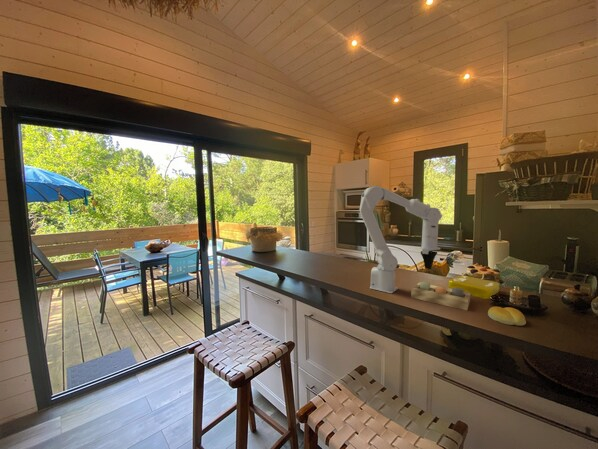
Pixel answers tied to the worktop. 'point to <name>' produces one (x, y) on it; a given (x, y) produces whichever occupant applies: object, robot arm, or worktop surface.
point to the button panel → (441, 297)
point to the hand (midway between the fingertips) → (428, 268)
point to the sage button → (425, 286)
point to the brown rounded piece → (440, 290)
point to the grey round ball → (458, 292)
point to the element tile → (475, 286)
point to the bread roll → (507, 316)
